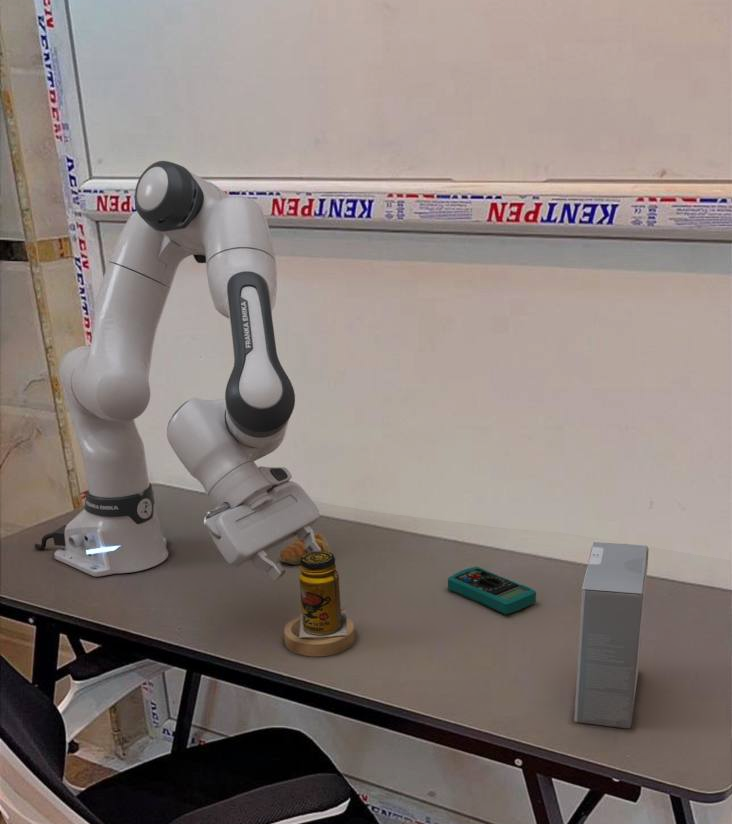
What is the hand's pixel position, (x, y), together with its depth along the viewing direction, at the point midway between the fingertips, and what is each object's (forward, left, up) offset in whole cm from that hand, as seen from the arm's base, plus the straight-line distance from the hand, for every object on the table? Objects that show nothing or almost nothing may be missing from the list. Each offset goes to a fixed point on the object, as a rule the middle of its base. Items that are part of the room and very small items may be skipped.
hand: (298, 565), depth 148 cm
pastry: (-18, +27, -13) cm, 35 cm away
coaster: (+3, +1, -12) cm, 13 cm away
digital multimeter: (+20, +27, -13) cm, 36 cm away
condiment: (+3, +2, -10) cm, 11 cm away
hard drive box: (+48, +5, -13) cm, 49 cm away
